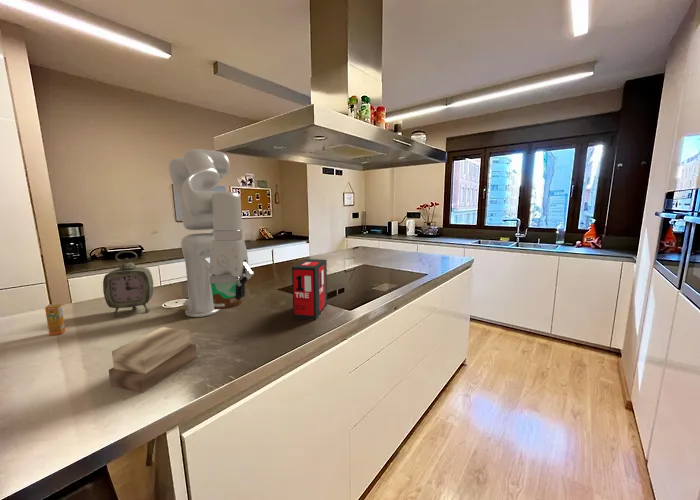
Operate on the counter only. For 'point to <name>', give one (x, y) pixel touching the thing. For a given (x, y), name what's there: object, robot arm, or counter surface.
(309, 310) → the cleaning product box
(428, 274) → the counter surface
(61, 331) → the supplement box
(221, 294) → the food container
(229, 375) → the counter surface
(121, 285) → the tabletop clock
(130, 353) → the tower top block
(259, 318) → the counter surface
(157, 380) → the tower base block
